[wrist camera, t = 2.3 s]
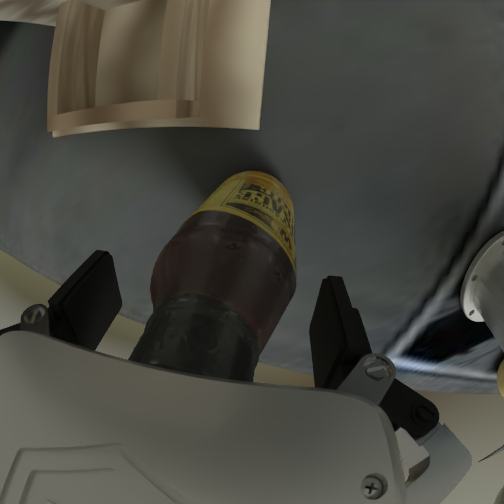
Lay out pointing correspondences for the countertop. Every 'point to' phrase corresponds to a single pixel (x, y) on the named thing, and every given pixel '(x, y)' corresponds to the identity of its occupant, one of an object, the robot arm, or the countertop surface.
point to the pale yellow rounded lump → (501, 378)
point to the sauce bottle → (223, 281)
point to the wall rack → (151, 62)
